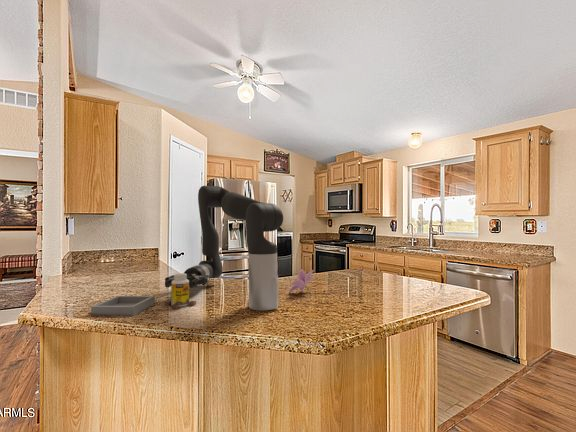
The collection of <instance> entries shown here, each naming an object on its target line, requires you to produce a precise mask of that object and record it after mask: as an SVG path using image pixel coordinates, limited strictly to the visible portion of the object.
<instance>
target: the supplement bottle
mask: <svg viewBox="0 0 576 432" xmlns="http://www.w3.org/2000/svg"><path fill="white" fill-rule="evenodd" d="M173 275H174V280H173V281H172V283H171V286H170V287H171V292H170V293H171V295H170V296H171V300H170V301H171V305H173V304H179V308H181V307H182V308H183V307H186V306H189V305H190V287H189V280H188V279H187V278H186V277H187V274H185V273H184V272H183V273H175V274H173Z"/></svg>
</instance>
